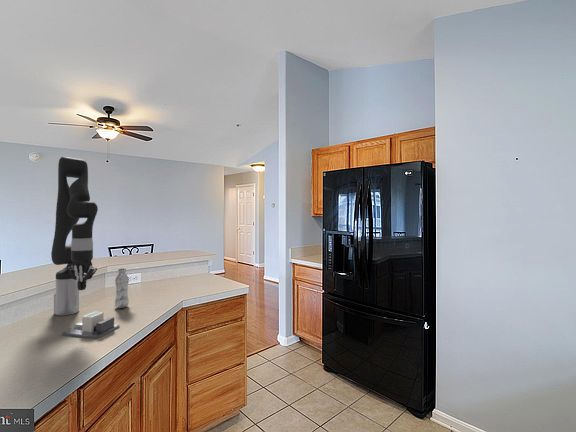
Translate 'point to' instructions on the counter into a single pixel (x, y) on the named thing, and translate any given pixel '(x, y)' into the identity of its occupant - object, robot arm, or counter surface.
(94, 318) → the block
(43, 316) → the counter surface
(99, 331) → the rail plate
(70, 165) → the robot arm
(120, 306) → the plastic bottle
